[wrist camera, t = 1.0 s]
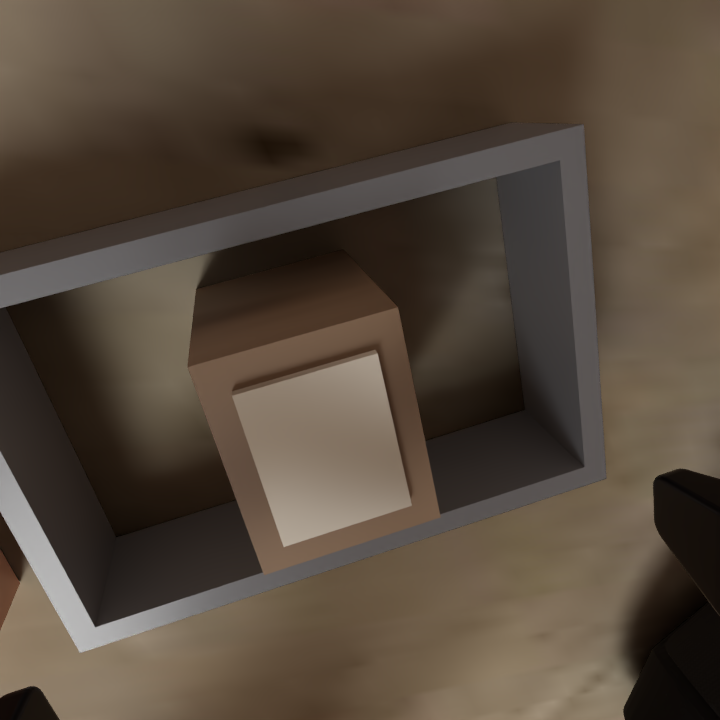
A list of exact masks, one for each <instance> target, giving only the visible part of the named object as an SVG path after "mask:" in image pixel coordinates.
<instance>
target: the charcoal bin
mask: <svg viewBox="0 0 720 720" xmlns="http://www.w3.org/2000/svg"><path fill="white" fill-rule="evenodd" d="M495 177H496V179H497V187H498V196H499V204H500V212H501V220H502V228H503V236H504V244H505V253H506V261H507V269H508V277H509V285H510V293H511V301H512V310H513V318H514V326H515V334H516V342H517V350H518V358H519V367H520V375H521V383H522V391H523V399H524V407H525V410H523V411H520V412H517V413H514V414H511V415H507V416H504V417H501V418H498V419H495V420H491V421H488V422H485V423H482V424H478V425H475V426H472V427H469V428H466V429H462V430H459V431H456V432H453V433H450V434H446V435H443V436H440V437H437V438H434V439H430V440H427V441H425V443H426V447H427V452H428V457H429V462H430V467H431V472H432V477H433V482H434V487H435V492H436V497H437V502H438V507H439V511H440V516H441V517H440V518H437V519H434V520H431V521H428V522H425V523H422V524H419V525H416V526H413V527H410V528H407V529H404V530H401V531H398V532H395V533H392V534H389V535H385V536H382V537H379V538H376V539H373V540H370V541H367V542H364V543H361V544H358V545H355V546H352V547H349V548H346V549H343V550H340V551H337V552H334V553H331V554H327V555H324V556H321V557H318V558H315V559H312V560H309V561H306V562H303V563H300V564H297V565H294V566H291V567H288V568H285V569H282V570H279V571H276V572H273V573H269V574H266V575H264V574H263V571H262V568H261V565H260V563H259V560H258V557H257V555H256V552H255V549H254V546H253V544H252V541H251V538H250V536H249V533H248V530H247V527H246V525H245V522H244V519H243V517H242V514H241V511H240V508H239V506H238V503H237V500H235V501H232V502H229V503H225V504H222V505H219V506H216V507H213V508H209V509H206V510H203V511H200V512H197V513H193V514H190V515H187V516H184V517H181V518H177V519H174V520H171V521H168V522H165V523H161V524H158V525H155V526H152V527H149V528H145V529H142V530H139V531H136V532H133V533H129V534H126V535H123V536H120V537H117V538H116V536H115V534H114V532H113V530H112V528H111V526H110V523H109V521H108V519H107V517H106V515H105V513H104V511H103V509H102V507H101V505H100V503H99V501H98V498H97V496H96V494H95V492H94V490H93V488H92V486H91V484H90V482H89V480H88V478H87V476H86V474H85V471H84V469H83V467H82V465H81V463H80V461H79V459H78V457H77V455H76V453H75V451H74V449H73V446H72V444H71V442H70V440H69V438H68V436H67V434H66V432H65V430H64V428H63V426H62V424H61V421H60V419H59V417H58V415H57V413H56V411H55V409H54V407H53V405H52V403H51V401H50V399H49V397H48V394H47V392H46V390H45V388H44V386H43V384H42V382H41V380H40V378H39V376H38V374H37V372H36V369H35V367H34V365H33V363H32V361H31V359H30V357H29V355H28V353H27V351H26V349H25V347H24V345H23V342H22V340H21V338H20V336H19V334H18V332H17V330H16V328H15V326H14V324H13V322H12V320H11V317H10V315H9V313H8V311H7V309H6V307H7V306H11V305H14V304H18V303H22V302H26V301H30V300H33V299H37V298H41V297H45V296H48V295H52V294H56V293H60V292H64V291H67V290H71V289H75V288H79V287H83V286H86V285H90V284H94V283H98V282H101V281H105V280H109V279H113V278H117V277H120V276H124V275H128V274H132V273H135V272H139V271H143V270H147V269H151V268H154V267H158V266H162V265H166V264H169V263H173V262H177V261H181V260H185V259H188V258H192V257H196V256H200V255H203V254H207V253H211V252H215V251H219V250H222V249H226V248H230V247H234V246H237V245H241V244H245V243H249V242H253V241H256V240H260V239H264V238H268V237H272V236H275V235H279V234H283V233H287V232H290V231H294V230H298V229H302V228H306V227H309V226H313V225H317V224H321V223H324V222H328V221H332V220H336V219H340V218H343V217H347V216H351V215H355V214H358V213H362V212H366V211H370V210H374V209H377V208H381V207H385V206H389V205H392V204H396V203H400V202H404V201H408V200H411V199H415V198H419V197H423V196H427V195H430V194H434V193H438V192H442V191H445V190H449V189H453V188H457V187H461V186H464V185H468V184H472V183H476V182H479V181H483V180H487V179H491V178H495ZM604 479H606V464H605V448H604V433H603V417H602V401H601V386H600V370H599V355H598V339H597V323H596V308H595V292H594V276H593V261H592V245H591V229H590V214H589V198H588V183H587V167H586V151H585V136H584V124H551V123H508V124H504V125H500V126H496V127H492V128H488V129H484V130H480V131H476V132H472V133H469V134H465V135H461V136H457V137H453V138H449V139H445V140H441V141H437V142H433V143H429V144H425V145H421V146H417V147H414V148H410V149H406V150H402V151H398V152H394V153H390V154H386V155H382V156H378V157H374V158H370V159H366V160H362V161H359V162H355V163H351V164H347V165H343V166H339V167H335V168H331V169H327V170H323V171H319V172H315V173H311V174H307V175H304V176H300V177H296V178H292V179H288V180H284V181H280V182H276V183H272V184H268V185H264V186H260V187H256V188H252V189H249V190H245V191H241V192H237V193H233V194H229V195H225V196H221V197H217V198H213V199H209V200H205V201H201V202H197V203H194V204H190V205H186V206H182V207H178V208H174V209H170V210H166V211H162V212H158V213H154V214H150V215H146V216H142V217H139V218H135V219H131V220H127V221H123V222H119V223H115V224H111V225H107V226H103V227H99V228H95V229H91V230H87V231H84V232H80V233H76V234H72V235H68V236H64V237H60V238H56V239H52V240H48V241H44V242H40V243H36V244H32V245H29V246H25V247H21V248H17V249H13V250H9V251H5V252H1V253H0V512H1V514H2V516H3V518H4V519H5V521H6V523H7V525H8V526H9V528H10V530H11V532H12V534H13V535H14V537H15V539H16V541H17V542H18V544H19V546H20V548H21V549H22V551H23V553H24V555H25V557H26V558H27V560H28V562H29V564H30V565H31V567H32V569H33V571H34V572H35V574H36V576H37V578H38V579H39V581H40V583H41V585H42V587H43V588H44V590H45V592H46V594H47V595H48V597H49V599H50V601H51V602H52V604H53V606H54V608H55V609H56V611H57V613H58V615H59V617H60V618H61V620H62V622H63V624H64V625H65V627H66V629H67V631H68V632H69V634H70V636H71V638H72V640H73V641H74V643H75V645H76V647H77V648H78V650H79V652H80V653H81V652H84V651H87V650H91V649H94V648H97V647H100V646H103V645H106V644H109V643H112V642H115V641H118V640H121V639H124V638H127V637H130V636H133V635H136V634H139V633H142V632H145V631H148V630H151V629H154V628H157V627H160V626H163V625H166V624H169V623H172V622H175V621H178V620H181V619H184V618H187V617H190V616H193V615H196V614H199V613H202V612H205V611H208V610H211V609H214V608H217V607H220V606H223V605H226V604H229V603H232V602H235V601H238V600H241V599H244V598H248V597H251V596H254V595H257V594H260V593H263V592H266V591H269V590H272V589H275V588H278V587H281V586H284V585H287V584H290V583H293V582H296V581H299V580H302V579H305V578H308V577H311V576H314V575H317V574H320V573H323V572H326V571H329V570H332V569H335V568H338V567H341V566H344V565H347V564H350V563H353V562H356V561H359V560H362V559H365V558H368V557H371V556H374V555H377V554H380V553H383V552H386V551H389V550H392V549H395V548H398V547H401V546H404V545H408V544H411V543H414V542H417V541H420V540H423V539H426V538H429V537H432V536H435V535H438V534H441V533H444V532H447V531H450V530H453V529H456V528H459V527H462V526H465V525H468V524H471V523H474V522H477V521H480V520H483V519H486V518H489V517H492V516H495V515H498V514H501V513H504V512H507V511H510V510H513V509H516V508H519V507H522V506H525V505H528V504H531V503H534V502H537V501H540V500H543V499H546V498H549V497H552V496H555V495H558V494H561V493H565V492H568V491H571V490H574V489H577V488H580V487H583V486H586V485H589V484H592V483H595V482H598V481H601V480H604Z"/></svg>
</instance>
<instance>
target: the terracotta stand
mask: <svg viewBox="0 0 720 720" xmlns="http://www.w3.org/2000/svg"><path fill="white" fill-rule="evenodd" d="M19 584H20V582H19V580H18V579H17V577H16V575H15V574H14V572H13V570H12V568H11V567H10V565H9V563H8V562H7V560H6V558H5V556H4V555H3V553H2V551H1V550H0V630H1V627H2V625H3V622H4V620H5V618H6V615H7V613H8V610H9V608H10V606H11V603H12V601H13V598H14V596H15V594H16V591H17V589H18V586H19Z"/></svg>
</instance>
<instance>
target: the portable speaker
mask: <svg viewBox="0 0 720 720" xmlns="http://www.w3.org/2000/svg"><path fill="white" fill-rule="evenodd" d="M623 713H624V717H625V720H720V616H719V615H718V613H717V612H716V611H715V609H714V608H713V607H712V605H711V604H710V603H709V602H708V603H706V604H705V605H704V606H703V607H702V608H700V609H699V610H698V611H697V612H696V613H694V614H693V615H692V616H691V617H690V618H688V619H687V620H686V621H685V622H684V623H682V624H681V625H680V626H679V627H678V628H676V629H675V630H674V631H673V632H672V633H670V634H669V635H668V636H667V637H666V638H664V639H663V640H662V641H661V642H660V643H659V644H657V645H656V646H655V647H654V648H653V649H652V652H651V654H650V656H649V658H648V660H647V662H646V664H645V666H644V668H643V670H642V672H641V674H640V676H639V678H638V680H637V682H636V684H635V686H634V688H633V690H632V692H631V694H630V696H629V698H628V700H627V702H626V704H625V706H624V710H623Z"/></svg>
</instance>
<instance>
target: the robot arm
mask: <svg viewBox="0 0 720 720" xmlns="http://www.w3.org/2000/svg"><path fill="white" fill-rule="evenodd" d="M653 496H654V521H655V525H656V528H657V531H658V532H659V534H660V536H661V537H662V539H663V540H664V542H665V543H666V544H667V546H668V547H669V548H670V550H671V551H672V552H673V554H674V555H675V557H676V558H677V559H678V561H679V562H680V563H681V565H682V566H683V567H684V569H685V570H686V571H687V573H688V574H689V576H690V577H691V578H692V580H693V581H694V582H695V584H696V585H697V586H698V588H699V589H700V590H701V592H702V593H703V595H704V596H705V597H706V599H707V600H708V601H709V603H710V604H711V605H712V607H713V608H714V609H715V611H716V612H717V613H718V615H719V616H720V479H718V478H714V477H711V476H707V475H704V474H700V473H697V472H693V471H690V470H686V469H676V470H673V471H670V472H667V473H664V474H661V475H659V476H657V477H656V478H655V480H654V483H653ZM0 720H59V718H58V716H57V715H56V713H55V712H54V710H53V708H52V707H51V705H50V704H49V702H48V700H47V699H46V697H45V696H44V694H43V692H42V691H41V690H40V689H39V688H37V687H35V686H30V687H27V688H24V689H21V690H18V691H15V692H12V693H9V694H6V695H4V696H2V697H1V698H0Z"/></svg>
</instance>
